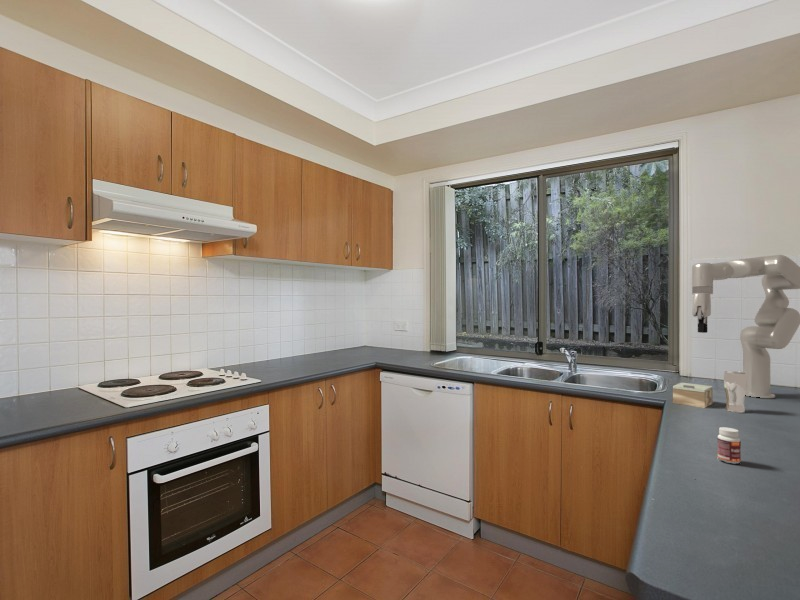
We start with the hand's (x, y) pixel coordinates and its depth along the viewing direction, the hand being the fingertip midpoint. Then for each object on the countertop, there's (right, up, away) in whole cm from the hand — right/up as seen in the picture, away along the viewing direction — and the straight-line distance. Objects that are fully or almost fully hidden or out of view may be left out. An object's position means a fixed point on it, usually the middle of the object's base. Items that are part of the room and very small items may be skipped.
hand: (702, 332), depth 185 cm
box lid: (-12, -23, -10) cm, 27 cm away
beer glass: (-4, -29, -23) cm, 37 cm away
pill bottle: (-48, -28, -76) cm, 94 cm away
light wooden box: (-11, -29, -10) cm, 33 cm away
